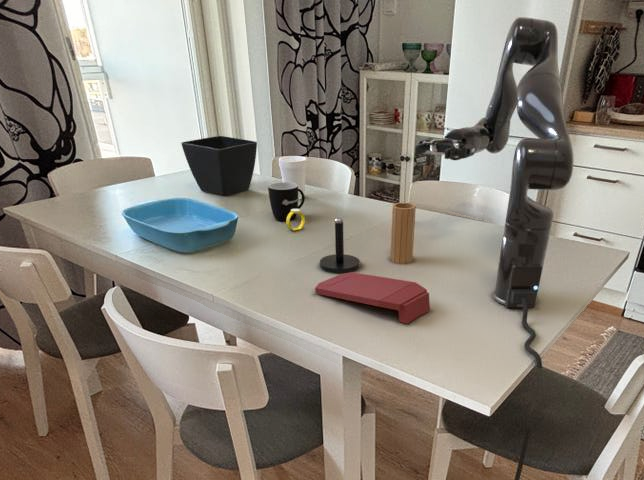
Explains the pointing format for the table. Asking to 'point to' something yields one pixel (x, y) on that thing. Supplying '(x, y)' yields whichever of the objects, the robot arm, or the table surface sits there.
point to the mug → (284, 199)
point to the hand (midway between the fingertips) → (431, 152)
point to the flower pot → (221, 163)
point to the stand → (339, 255)
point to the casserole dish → (182, 223)
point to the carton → (379, 293)
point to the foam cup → (294, 171)
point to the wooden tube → (402, 232)
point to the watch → (290, 217)
